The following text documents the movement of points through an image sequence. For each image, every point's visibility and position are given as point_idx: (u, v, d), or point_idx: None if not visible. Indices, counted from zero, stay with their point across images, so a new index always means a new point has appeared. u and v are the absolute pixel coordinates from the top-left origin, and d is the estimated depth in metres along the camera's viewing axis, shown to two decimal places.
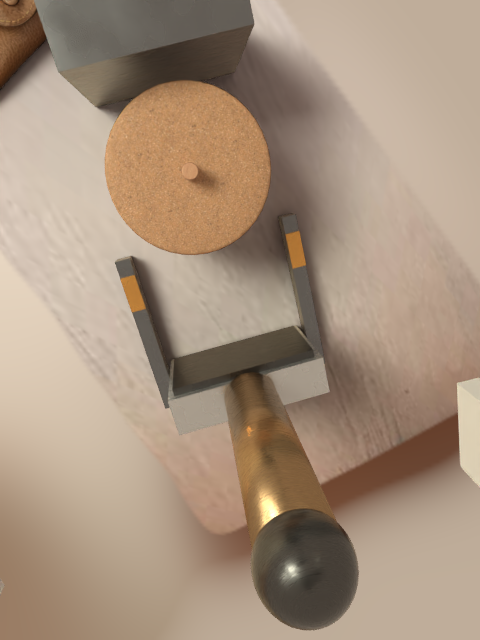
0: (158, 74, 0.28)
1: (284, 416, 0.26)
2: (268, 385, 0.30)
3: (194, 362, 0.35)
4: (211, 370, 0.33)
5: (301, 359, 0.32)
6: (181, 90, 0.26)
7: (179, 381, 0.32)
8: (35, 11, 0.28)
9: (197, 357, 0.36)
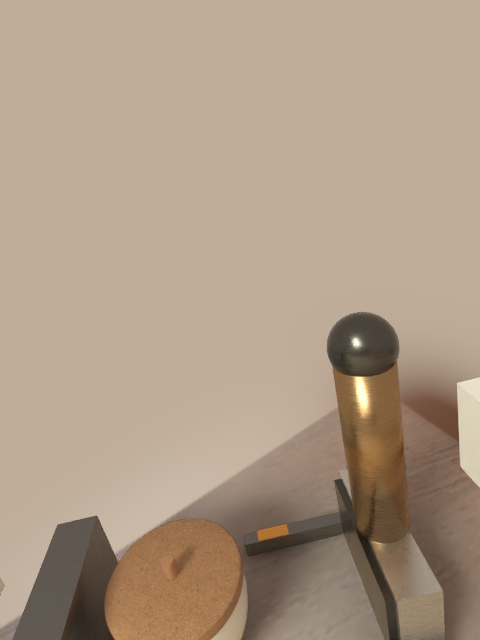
0: (102, 623, 0.33)
1: None
2: None
3: (379, 612, 0.30)
4: (369, 572, 0.31)
5: (343, 487, 0.36)
6: (115, 578, 0.33)
7: (382, 603, 0.28)
8: None
9: (378, 617, 0.31)
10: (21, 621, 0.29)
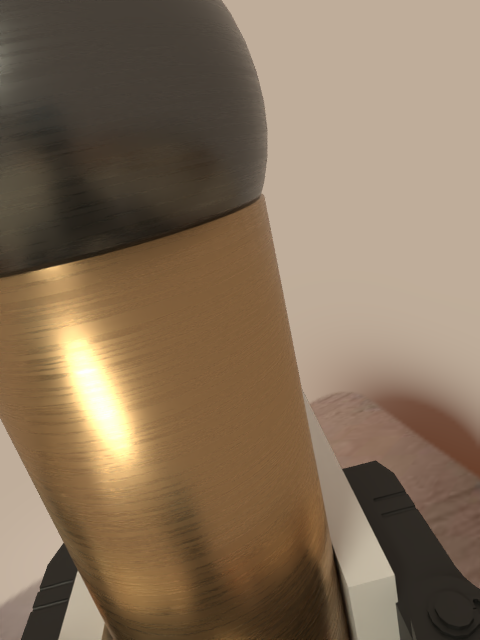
0: None
1: None
2: None
3: None
4: None
5: None
6: None
7: None
8: None
9: None
10: None
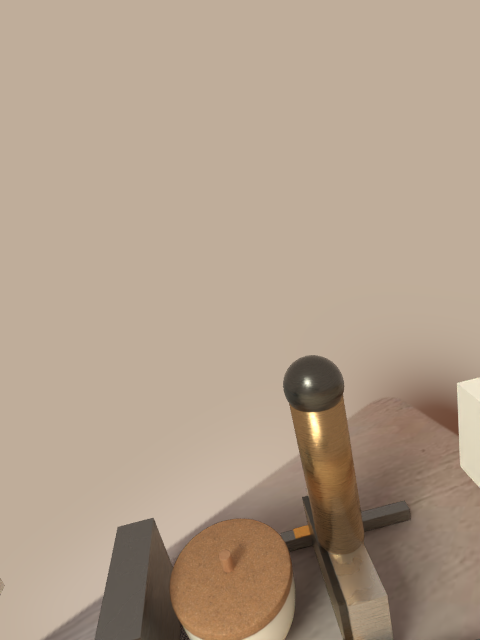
0: (165, 614, 0.37)
1: None
2: None
3: (337, 616, 0.34)
4: (328, 580, 0.35)
5: (309, 503, 0.40)
6: (177, 573, 0.37)
7: (338, 608, 0.32)
8: None
9: (338, 620, 0.35)
10: (102, 611, 0.33)
